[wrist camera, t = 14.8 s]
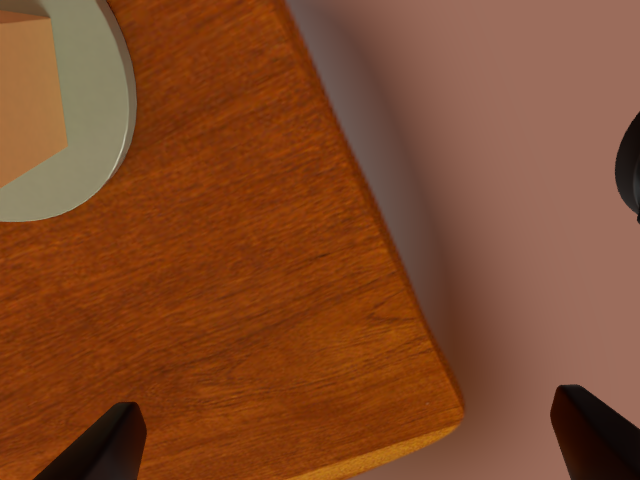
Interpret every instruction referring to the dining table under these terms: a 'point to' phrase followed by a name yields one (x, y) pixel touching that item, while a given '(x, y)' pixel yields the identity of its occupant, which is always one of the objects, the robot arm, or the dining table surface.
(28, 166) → the cake slice
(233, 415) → the dining table surface
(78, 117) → the plate
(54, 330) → the dining table surface
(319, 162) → the dining table surface
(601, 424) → the robot arm
